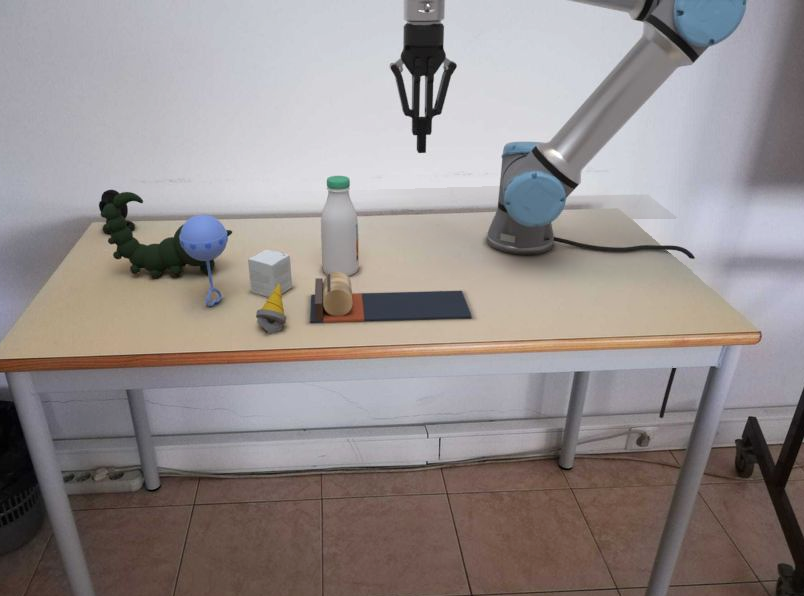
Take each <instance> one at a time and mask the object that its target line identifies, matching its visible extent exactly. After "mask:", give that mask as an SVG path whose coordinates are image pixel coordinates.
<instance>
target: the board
mask: <svg viewBox="0 0 804 596" xmlns="http://www.w3.org/2000/svg"><path fill="white" fill-rule="evenodd" d="M323 281H324V278H323V277H320V278H319V277H318V278H315V281H314V282H315V283H314V284H315V285H314V294H310V312H309V313H310V314H309V323H310V324H318V323H319V324H325V323H349V322H350V323H356V322H360V323H361V322H391V321H393V322H394V321H395V322H396V321H423V320H424V321H425V320H427V321H429V320H459V319H460V320H462V319H463V320H464V319H472V317H473V316H472V313H471V311H470V308H469V306H468V303H467V301H466V298H465V295H464V293H463V291H462V290H441V291H439V290H434V291H433V290H432V291H397V292H395V291H393V292H362V293H361V292H360V293H359V292H357V293H352V300H353V305H352V308H351V310H350V311H349V312H348V313H347V314H345V315H343V316H333V315H330V314H329V313H327V312H326V311H325V309H324V307H323Z"/></svg>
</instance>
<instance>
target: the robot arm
mask: <svg viewBox="0 0 804 596" xmlns="http://www.w3.org/2000/svg"><path fill="white" fill-rule="evenodd" d="M567 1H568V2H572V3H579V4H583V5H587V6H592V7H598V8H602V9H608V10H613V11H618V12H622V13H627V14H628V15H629V17H630V19H631V20H632V21H637V22H642V24H643V25H642V28H643V29H642V34H641V35H642V36H641V37H639V38H640V39H638V40H637V42H636V43H635V44H634V45H633V46H632V47H631V49H629V51H628V52H627V53H626V54H625V55H624V57H623V58H622V59H621V60H620V61H619V62H618V63H617V64H616V66H615V67H613V69H612V70H611V71H610V72H609V73H608V75H607V76H605V78H604V79H603V80H602V81H601V83H600V84H599V85H598V86H597V87H596V88H595V89H594V91H593V92H592V93H591V94H590V95H589V96H588V97H587V99H585V100H584V102H583V103H582V104H581V105H580V106H579V107H578V109H577V110H575V112H574V113H573V114H572V115H571V117H570V118H568V120H567V121H566V122H565V123H564V124H563V126H562V127H561V128H560V129H559V130H558V131H557V132H556V134H554V135H553V137H552V138H551V139H550V140H549V141H548V142H541V141H511V142H508V143H506V144H505V145H504V146H503V149H502V154H501V168H500V178H499V180H500V181H499V190H498V198H497V199H498V200H497V209H496V211H495V214H494V216H493V219H492V221H491V223H490V225H489V228H488V229H487V233H486V243H487V245H488V246H489V247H490V248H492V249H494V250H496V251H499V252H501V253H505V254H511V255H517V256H533V255H541V254H544V253H547V252H549V251H551V249H553V247H554V243H555V242H556V243H561V244H565V245H569V246H573V247H576V248H580V249H587V250H593V251H601V252H611V253H612V252H614V253H625V252H626V253H627V252H635V251H642V250H656V251H675V252H680V253H683V254H684V255H685V256H686V257H688V259H692V260H695V259H696V257H695V255H694V254H693V253H692V252H691V251H689V250H688V249H687V248H685V247H682V246H679V245H667V244H666V245H659V244H658V245H657V244H655V245H654V244H643V245H640V244H639V245H634V246H625V247H623V246H621V247H617V246H602V245H595V244H587V243H582V242H579V241H578V242H577V241H574V240H570V239H566V238H561V237H557V236H555V234H554V230H553V225H552V222H554V221H555V220H556V219H558V218H559V217H560V215H561V214H562V212H563V210H564V208H565V206H566V202H567V198H568V197H569V196H570V195H571V194H572V193H573V192H574V191H575V189H576V188H577V187H578V186H579V185H580V184H581V183H582V171H583V170H584V169H585V168H586V167H587V166H588V164H589V163H590V162H591V161H592V160H593V159H594V158H595V157H596V156H597V155H598V154H599V153H600V152H601V151H602V149H603V148H604V147H605V146H606V145H607V144H609V142H610V141H611V140H612V139H613V138H614V137H615V136H616V135H617V133H618V132H620V130H621V129H623V128H624V126H625V125H626V124H627V123H628V122H629V120H631V118H633V116H634V115H635V114H636V113H637V112H638V111H639V110H640V109H641V108H642V107H643V106H644V104H646V102H647V101H648V100H649V99H650V98H651V97H652V96H653V95H654V94H655V92H657V90H658V89H659V88H661V86H662V85H664V83H665V82H666V81H667V80H668V79H669V78H670V77H671V76H672V75H673V73H674V72H675V71H676V70H677V69H678V68H681V67H687V66H693V65H694V63H695V62H696V61H697V60H698V59H699V58H700V57H701V56H702V55H703V54H704V53H705V51H707V50H708V49H709V48H710V47H713V46H715V45H718V44H719V43H721V42H723V41H725V40H726V39H728V38H729V37H730V36H731V35H732V34H733V33H734V32H735V31H736V30H737V29H738V28H739V26H740V25H741V22H742V21H743V18H744V17H745V13H746V10H747V2H748V0H567ZM445 3H446V1H445V0H403V20H404V21H405V22H406V23H404V25H403V42H402V43H403V48H402V51H401V53H400V57H399V59H397V60H396V61H394V62H391V63H390V64H389V69H390V71H391V72H392V74H393V76H394V78H395V79H394V80H395V83H396V87H397V88H396V89H397V93H398V97H399V101H400V105H401V110H402V113H403V114H404V116H405V117H409V118H411V133H412V135H413V136H416V152H417V153H418V154H426V153H427V136H430V135H432V132H433V129H432V128H433V118H435V117H436V116H440V115H442V112H443V108H444V105H445V101H446V97H447V93H448V89H449V85H450V82H451V78H452V75H453V74H454V73H455V71H456V69H457V67H458V64H457V63H456V62H454V61H453V60H450V59H449V58H447V54H446V51H445V48H444V45H445V44H444V43H445V41H444V40H445V39H444V38H445V25H444V24H443V23H442V21H444V20H445V10H446V9H445V6H446V4H445ZM442 65H443V66H442ZM403 66H405V67H406V70H407V71H408V72H409V74H411V108H410V104H409V100H408V96H407V91H406V86H405V81H404V77H403V74H402V73H403V71H404V67H403ZM441 66H442V70H443V72H442V75H441V77H440V78H441V79H440V82H439V86H438V90H437V93H436V94H437V95H436V98H435V101H434V81H435V75H436V73H437V72H438V71H439V69H440V67H441ZM422 77H424V116H420V106H421V102H420V101H421V80H422ZM677 368H678V367H677ZM677 368H672V367H671V370H670V374H669V378H668V381H667V385H666V388H665V392H664V395H663V400H662V403H661V407H660V412H659V415H658V416H659V418H660V419H663V418H664V417H665V412H666V408H667V405H668V401H669V396H670V393H671V389H672V384H673V382H674V379H675V375H676V372H677Z"/></svg>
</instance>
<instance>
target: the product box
mask: <svg viewBox="0 0 804 596" xmlns="http://www.w3.org/2000/svg"><path fill="white" fill-rule="evenodd" d="M247 263H248V271H249V272H248V273H249V281H250V292H251V293H252V294H256V295H258V296H259V295H260V296H264V297H267V298H269V297H270V295H271V294H272V292H273V291H274V289H275V288H276V287H277V285H278V284H279V283H280V288H281V295H282V294H284V293H286V292H287V291H289V290H290V289H292V288H293V279H292V266H291V265H292V264H291V255H290V254H288V253H285V252H284V253H283V252H279V251H275V250H272V249H264V250H263V251H261V252H259V253H257V254H255V255H253V256H251V257H249V258H248V259H247Z"/></svg>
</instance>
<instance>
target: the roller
mask: <svg viewBox="0 0 804 596" xmlns="http://www.w3.org/2000/svg"><path fill="white" fill-rule="evenodd" d="M352 294H353V289H352V280H351V278H350V276H347V275H345V274H344V273H341V272H333V273H330V274H329V275H327V274H326V276H325V277H324V278H323V307H324V309H325V311H326V312H327V313H329V314H330V315H333V316H343V315H345V314H347V313H348V312H349V311H350V310H351V308H352V305H353V300H352Z"/></svg>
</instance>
